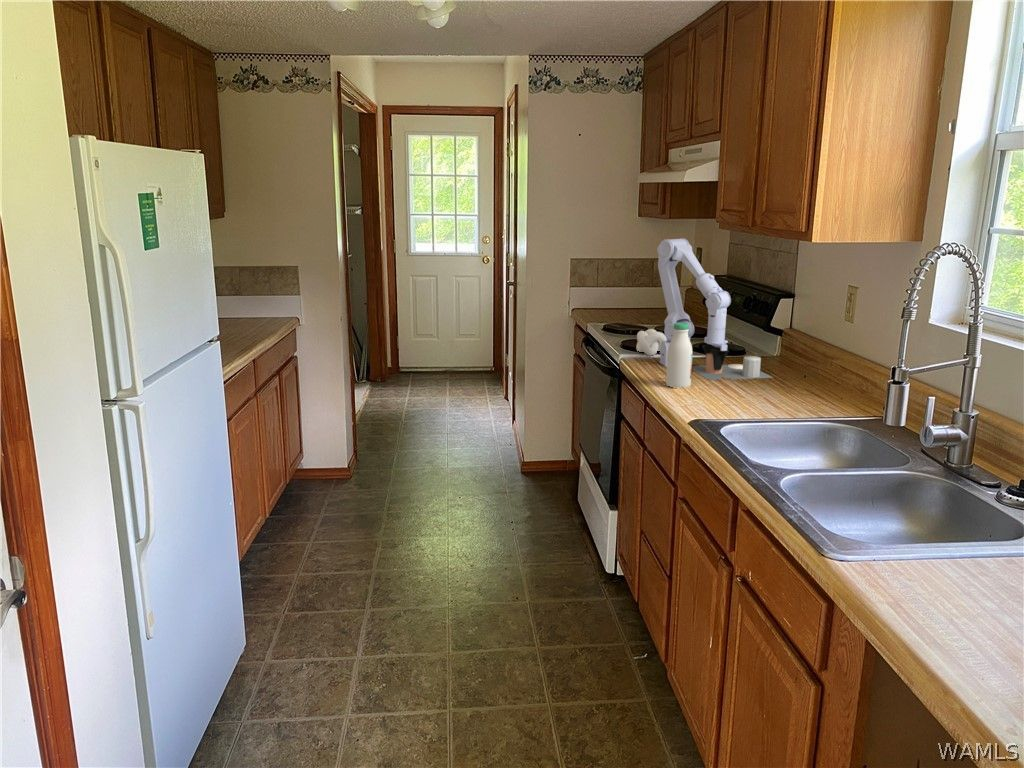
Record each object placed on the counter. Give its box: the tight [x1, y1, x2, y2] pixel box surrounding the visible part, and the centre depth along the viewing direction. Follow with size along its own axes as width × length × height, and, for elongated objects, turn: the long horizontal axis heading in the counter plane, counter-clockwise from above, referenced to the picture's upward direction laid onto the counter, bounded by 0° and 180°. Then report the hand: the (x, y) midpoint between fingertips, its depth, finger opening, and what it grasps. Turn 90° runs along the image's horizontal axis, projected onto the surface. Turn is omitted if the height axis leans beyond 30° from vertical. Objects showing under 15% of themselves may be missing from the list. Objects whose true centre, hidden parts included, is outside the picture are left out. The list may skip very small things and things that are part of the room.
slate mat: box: [692, 363, 774, 381], centre depth 252 cm, size 22×20×1 cm
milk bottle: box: [665, 323, 693, 389], centre depth 233 cm, size 8×8×20 cm
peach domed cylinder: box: [705, 353, 724, 374], centre depth 251 cm, size 5×5×6 cm
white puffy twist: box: [635, 328, 667, 357], centre depth 281 cm, size 11×12×9 cm
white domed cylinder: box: [742, 355, 762, 377], centre depth 246 cm, size 5×5×6 cm
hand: (713, 367), depth 252 cm, fingers open, 5 cm apart
